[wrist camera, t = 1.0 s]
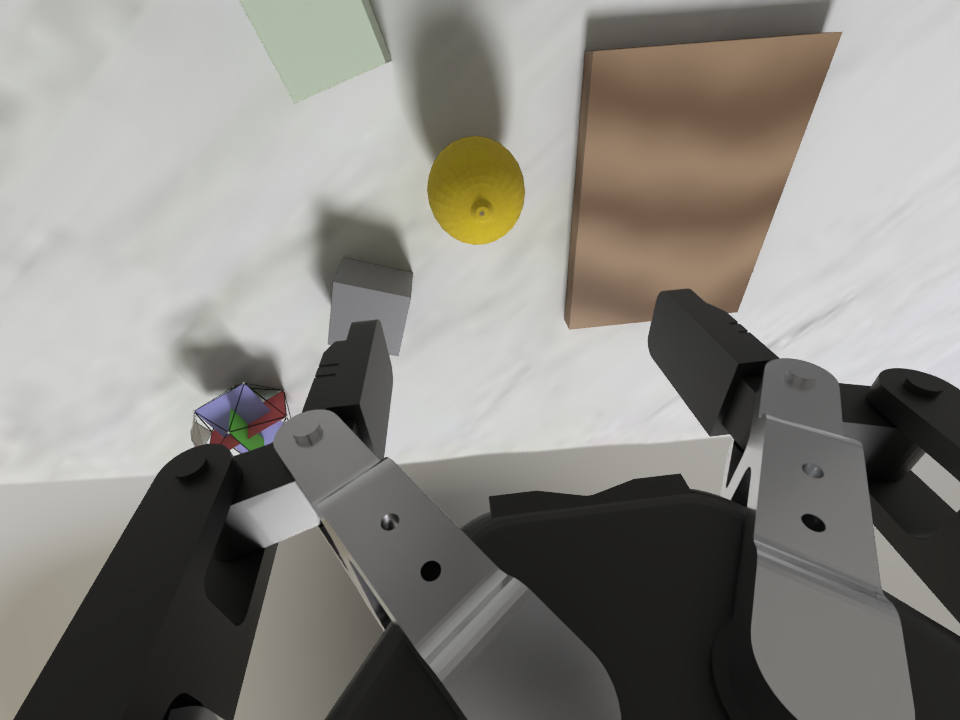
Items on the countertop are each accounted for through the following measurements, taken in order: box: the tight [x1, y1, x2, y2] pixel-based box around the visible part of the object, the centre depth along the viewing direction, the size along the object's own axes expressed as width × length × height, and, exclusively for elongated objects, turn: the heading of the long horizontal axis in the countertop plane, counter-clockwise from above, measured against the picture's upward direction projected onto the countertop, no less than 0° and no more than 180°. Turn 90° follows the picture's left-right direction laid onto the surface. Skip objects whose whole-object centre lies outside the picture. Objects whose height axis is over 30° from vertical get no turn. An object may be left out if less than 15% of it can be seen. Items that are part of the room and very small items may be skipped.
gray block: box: [328, 257, 413, 356], centre depth 30 cm, size 5×5×4 cm
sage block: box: [239, 0, 392, 103], centre depth 20 cm, size 5×5×4 cm
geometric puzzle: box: [191, 382, 291, 454], centre depth 34 cm, size 7×7×8 cm
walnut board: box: [564, 32, 842, 329], centre depth 29 cm, size 18×14×2 cm
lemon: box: [427, 136, 525, 245], centre depth 24 cm, size 6×6×8 cm
